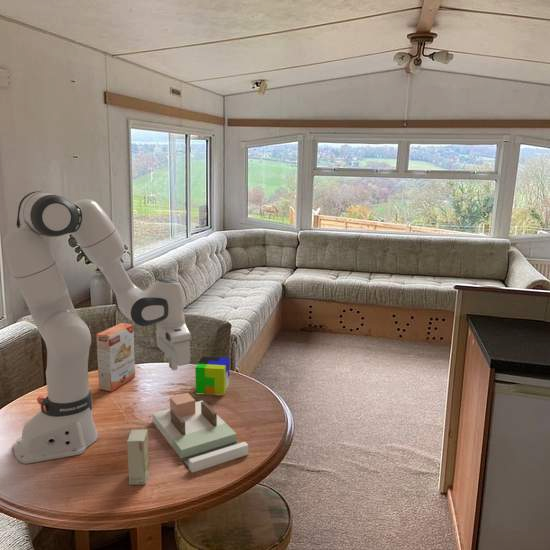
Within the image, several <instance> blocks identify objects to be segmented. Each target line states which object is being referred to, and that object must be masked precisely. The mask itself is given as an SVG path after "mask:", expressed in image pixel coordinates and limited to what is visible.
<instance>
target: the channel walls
mask: <svg viewBox="0 0 550 550" xmlns="http://www.w3.org/2000/svg"><path fill="white" fill-rule="evenodd" d="M170 414H171V423H172V424H173V425H174V426H175V427H176V429H177V430H178V431H179V432H180V433H181V435H185V421H184V420H183V419H182V418H181V417H180V416H179V415H178V413H177V412H176V411H175V410H174V409H171V410H170ZM201 414H202V415H203V416H204V417H205V418H206V419H207V420H208V421H209V422H210V423H211V424H212V425H213V426H217V415H218V414H217V412H216V411H215V410H214V409H213V408H212V407H211V406H209V404H208V403H207V402H205V401H204V400H203V402H201Z"/></svg>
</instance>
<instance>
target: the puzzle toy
mask: <svg viewBox="0 0 550 550" xmlns="http://www.w3.org/2000/svg"><path fill="white" fill-rule="evenodd" d="M194 372H195V394H196V393H204V394H225V395H226V392H227V390H228V388H227V387H229V385H230V357H219V356H218V357H217V356H216V357H215V356H201V358H200V359H199V361H198V363H197V364H196V366H195V371H194ZM226 389H227V390H226ZM225 391H226V392H225ZM204 394H203V395H204Z"/></svg>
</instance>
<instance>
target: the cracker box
mask: <svg viewBox="0 0 550 550" xmlns="http://www.w3.org/2000/svg"><path fill="white" fill-rule="evenodd" d="M134 330H135V329H134V325H133V324H130V323H123V322H120V323H118V324H115V325H114V326H111V327H109V328H107V329H105V330H103V331H101V332H98V333H96V353H97V354H96V355H97V367H98V368H97V371H98V373H97V374H98V388H99V390H101V391H106V392H111V393H112V392H114V391H115V390H117V389H118V388H120V387H122V386H123V385H125V384H126V383H128V382H130V381H131V380H133V379H134V378H135V377H136V370H135V369H136V367H135V363H136V362H135V336H134V335H135V331H134Z"/></svg>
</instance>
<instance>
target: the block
mask: <svg viewBox="0 0 550 550" xmlns="http://www.w3.org/2000/svg"><path fill="white" fill-rule="evenodd" d="M195 402H196V400H195V398H193V396H191V395H190V393H189V392H186V393H181V394H177V395H171V396H170V397H169V409H170V410H171V409H174V410H175V411H176V412H177V413H178V415H179V416H180V417H184V416H188V415H192V414H195Z"/></svg>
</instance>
